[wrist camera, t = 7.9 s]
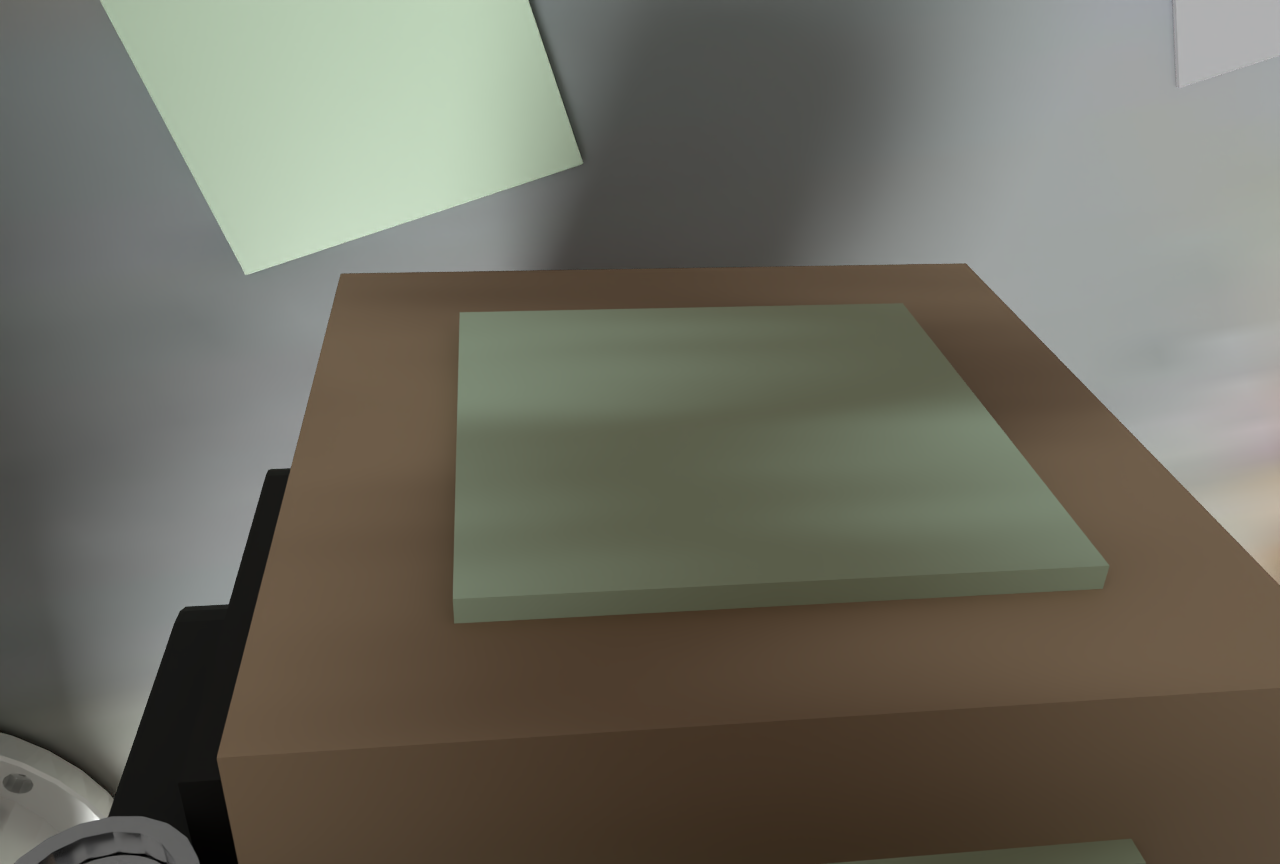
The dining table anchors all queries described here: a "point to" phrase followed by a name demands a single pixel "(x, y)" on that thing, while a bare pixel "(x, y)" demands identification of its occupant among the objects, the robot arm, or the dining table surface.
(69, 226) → the dining table surface
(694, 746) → the letter block
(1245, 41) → the grey pad
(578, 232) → the dining table surface
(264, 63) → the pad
